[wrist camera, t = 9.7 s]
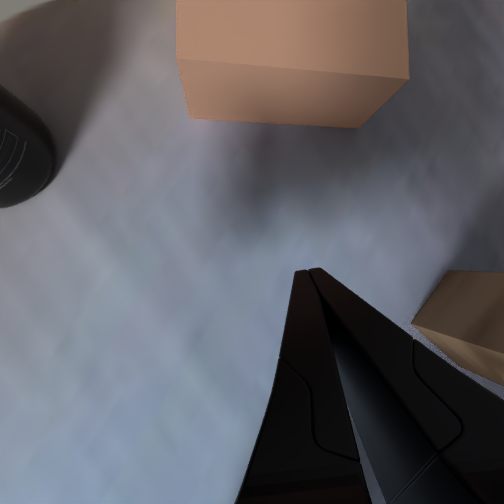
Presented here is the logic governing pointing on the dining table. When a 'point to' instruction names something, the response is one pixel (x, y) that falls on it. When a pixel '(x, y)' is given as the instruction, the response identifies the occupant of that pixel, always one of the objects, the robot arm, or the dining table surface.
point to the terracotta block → (291, 59)
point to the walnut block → (468, 321)
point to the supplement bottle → (22, 151)
